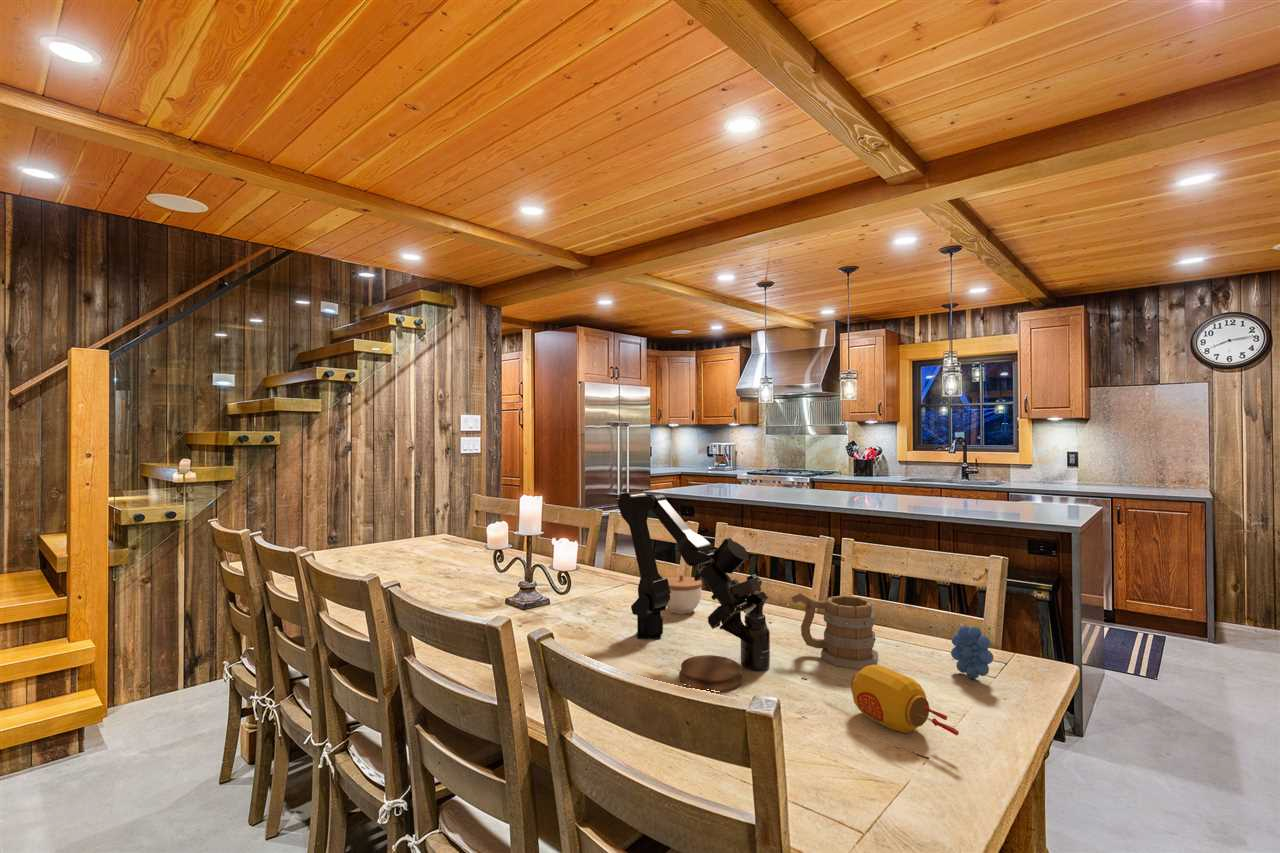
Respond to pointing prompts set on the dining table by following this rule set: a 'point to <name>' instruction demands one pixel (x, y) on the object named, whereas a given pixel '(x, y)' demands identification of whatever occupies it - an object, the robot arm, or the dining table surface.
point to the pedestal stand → (710, 673)
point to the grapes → (971, 651)
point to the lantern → (892, 699)
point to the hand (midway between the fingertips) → (760, 639)
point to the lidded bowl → (684, 594)
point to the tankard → (842, 630)
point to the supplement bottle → (756, 644)
